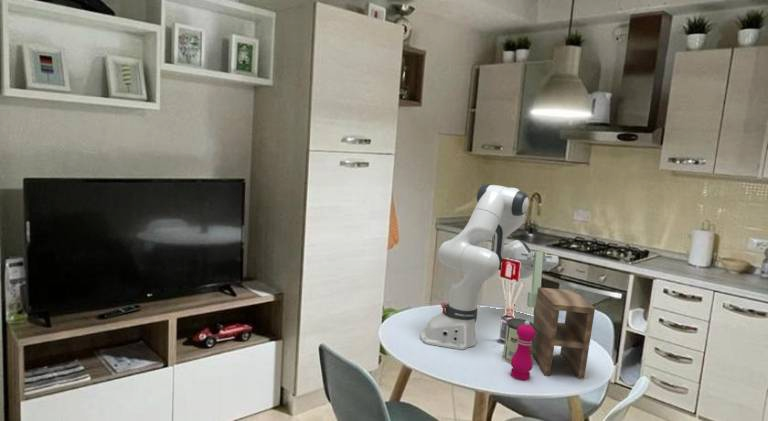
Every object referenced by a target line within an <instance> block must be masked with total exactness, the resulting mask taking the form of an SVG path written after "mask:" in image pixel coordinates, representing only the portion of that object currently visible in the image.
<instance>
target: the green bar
mask: <svg viewBox="0 0 768 421" xmlns="http://www.w3.org/2000/svg"><path fill="white" fill-rule="evenodd" d="M533 252H536V256H535V257H534V262H533V274H532V278H531V279H532V280H531V292H530V291H528V292H527V298H526V299H527V303H526V306H527V308H535V307H536V299H537V292H538V287H540V288H542V276H543V274H542V273H543V272H542V263H543V253H544V251H541V250H540V251H539V250H534V251H533Z"/></svg>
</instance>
